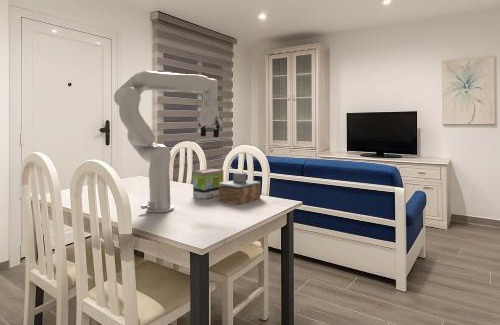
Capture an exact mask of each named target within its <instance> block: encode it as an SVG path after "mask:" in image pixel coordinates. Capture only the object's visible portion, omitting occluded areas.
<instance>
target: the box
mask: <svg viewBox="0 0 500 325" xmlns="http://www.w3.org/2000/svg"><path fill="white" fill-rule="evenodd" d="M258 198H260V199H261V183H260V184H256V185H251V186H247V187H242V188H234V187H228V186H223V185H221V186H219V196H218V201H219V202H222V203H224V202H225V203H228V204H231V205H232V204H234V205H244V204H246V203H249V202H252V201H256V200H255V199H257V200H259V199H258Z"/></svg>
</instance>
